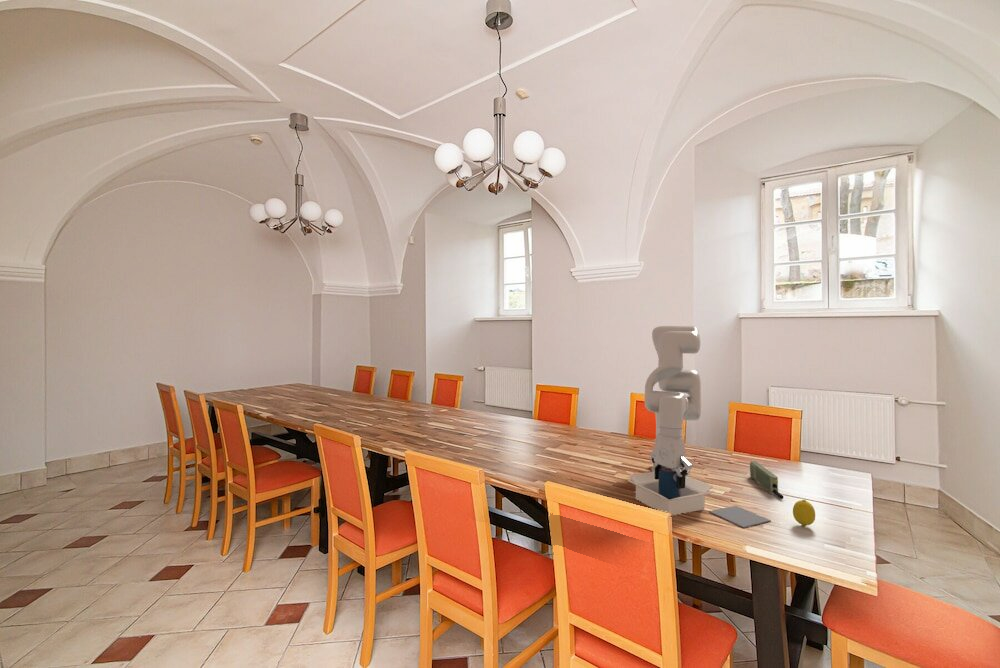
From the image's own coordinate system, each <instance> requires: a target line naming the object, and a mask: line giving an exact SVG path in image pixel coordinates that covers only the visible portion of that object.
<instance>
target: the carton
mask: <svg viewBox="0 0 1000 668" xmlns="http://www.w3.org/2000/svg"><path fill="white" fill-rule="evenodd" d="M628 477H629V478H630V479H627V481H628V482H629V483H631V484H633V486H635V500H637V501H638V500H639V502H640V501H641V503H642V504H644V505H646V506H648V507H650V508H652V509H654V508H655V509H659V510H663V511H667V512H669V513H671V514H674V515H675V514H679V515H682V514H681V513H684V514H687V513H686V512H689V513H693V511H694V512H697V511H699V512H700V511H702V510H703V511H704V510H705V509H706V508H705V507H706V506H705V505H706V501H705V500H706V499H705V498H706V495H710V494H713V493H715V491H714V490H711V489H712V488H713V485H711V484H709V483H706V482H705V481H704V482H703V481H701V480H698V479H696V478H694V477H691V476H688V475H687V476H685V488H682V489H681V497H677V498H674V499H670V500H669V499H667V498H665V497H664V496H662V495H660V494H658V485H659V479H658V480H656V479H655V471H653V472H652V471H648V472H642V473H635V474H630V475H628ZM710 490H711V491H710ZM655 509H654V510H655ZM675 516H676V515H675Z"/></svg>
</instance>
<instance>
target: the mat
mask: <svg viewBox="0 0 1000 668" xmlns="http://www.w3.org/2000/svg"><path fill="white" fill-rule="evenodd" d="M709 514H712V515H715V516H717V517H719V518H720V517H721V518H720V519H723V520H725V521H727V522H729V523H731V522H732V524H733V523H734V524H733V525H736V526H738V527H740V526H741V527H740V528H742V527H743V528H742V529H745V528H744V527H746V528H749V526H751V527H754V526H753V525H755V526H759V525H762V523H763V524H767V523H770V522H771V521H772V519H769V518H767V517H764V516H763V515H759V514H757V513H755V512H752V511H750V510H747V509H745V508H742V507H741V506H737V505H732V506H727V507H722V508H719V509H718V508H717V509H713V510H709ZM766 522H767V523H766ZM758 524H759V525H758Z"/></svg>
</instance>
